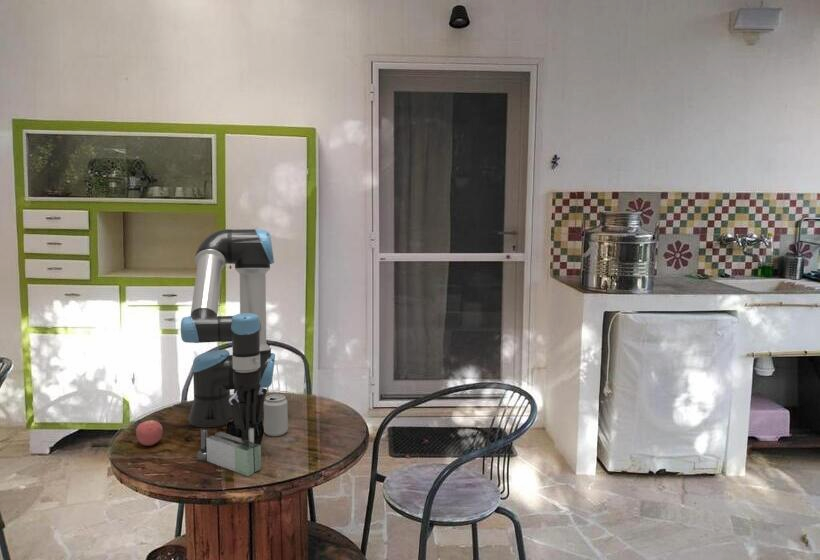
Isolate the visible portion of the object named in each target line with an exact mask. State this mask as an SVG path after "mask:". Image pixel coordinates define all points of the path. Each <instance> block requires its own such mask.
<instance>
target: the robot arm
mask: <svg viewBox="0 0 820 560" xmlns="http://www.w3.org/2000/svg"><path fill="white" fill-rule="evenodd" d="M270 233H271V232H270V231H268V230H266V229H257V228H255V229H250V228H249V229H247V228H246V229H228V228H225V229H220V230H219V229H218V230H217V231H214V232H213V233H211V234H210V235H208V236H207V237H205V239H204V240H202V242H201V243H200V244H199V246H198V247H197V250H196V253H195V256H194V263H195V266H196V274H195V280H194V281H195V282H194V289H193V296H192V301H191V303H192V304H191V308H190V309H191V310H190V315H188V316H184V317H182V319H181V320H180V321H181V322H180V336H181V340H182V342H183V343H186V344H188V343H191V344H199V343H200V344H203V343H225V342H226V343H227V342H228V343H229V342H230V343H231V342H232V345H231V346H232V347H231V348H232V354H230V351H229V350H227V349H217V350H211V351H205V352H202V353H199V354H198V355H196V356H195V357H194V359H193V365H192V373H193V402H192V404H191V409H190V412H189V415H188V423H189V424H190V425H191V426H193V427H197V428H218V427H222V426H226V425H228V424H227V423H228V422H229V421H230V420H232V419H233V420H234V421H233V423H234V426H235V429H238V430H241V439H244V440H247V441H250V442H253V443H255V438H256V429H257V428H258V426H259V425H258V424H261V422H262V417H263V412H264V401H265V399H266V394H267V393H268V389H267V388H270V386H272V383H273V376H274V368H275V359H276V354H275V353H274V352H272V348H271V347H270V346H269V345H268V344H267V343H268V342H267V303H266V302H267V301H266V299H267V298H266V295H267V293H266V292H267V291H266V290H267V289H266V287H267V285H266V282H267V281H266V274H267V273H268V271H269V270H270V269H271V265H272V264H273V265H274V263H275V259H274V253H273V251H274V250H273V245H272V239H271V234H270ZM226 264H227V265H228V264H230V265H231V264H232V265H234V270H235V271H236V272H237V273H238V274H239V313H237V314H234V315H219V316H218V313H219V303H220V291H221V281H222V271H223V269H224V268H225V266H226ZM231 390H233V394H232V396H231Z"/></svg>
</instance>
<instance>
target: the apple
mask: <svg viewBox="0 0 820 560" xmlns="http://www.w3.org/2000/svg"><path fill="white" fill-rule="evenodd" d="M163 434H164V428H163V425H162V424H161V423H160V421H157V420H154V419H151V418H149V419H148V420H145V421H142V422H141V423H139V424H138V425H137V426H136V429H135V436H136V438H137V441H138V442H139V443H140V444H141V445H143V446H145V447H146V446H147V447H149V446H154V445H155V444H157V443H158V442H159V441H160V440H161V438H162V436H163Z"/></svg>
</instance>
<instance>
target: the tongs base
mask: <svg viewBox="0 0 820 560" xmlns="http://www.w3.org/2000/svg"><path fill="white" fill-rule="evenodd" d="M196 454H197V461H200V462H208V463H211V464H213V465H215V466H216V465H217V466H218V467H221V468H224V469H227V470H230V471H233V472H235V473H236V474H240V475H242V476H246V477H249V476H251V475H253V474H255V472H254V456H253V448H251V447H248V446H245V445H242V444H240V445H239V444H236V443H233V442H230V441H227V440H224V439H221V438H218V437H215V435H210V436H209V435H208V428H202V429H200V449H199V450H198V451H197V452H196Z"/></svg>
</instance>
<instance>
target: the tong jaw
mask: <svg viewBox="0 0 820 560" xmlns="http://www.w3.org/2000/svg"><path fill="white" fill-rule="evenodd" d="M214 436H215V437H218V438H221V439H224V440H227V441H230V442H233V443H236V444H239V445H240V444H242V445H245V446H248V447H251V448H253V456H254V473H256V472H259V471H261V469H262V451H261V449H262V448H261V447H262V446H261V444H259V443H256V442H254V443H253V442H250V441H247V440H244V439H242V437H237V436H234V435H232V434H229V433H225V432H223V431H219V432H215V433H214Z"/></svg>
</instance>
